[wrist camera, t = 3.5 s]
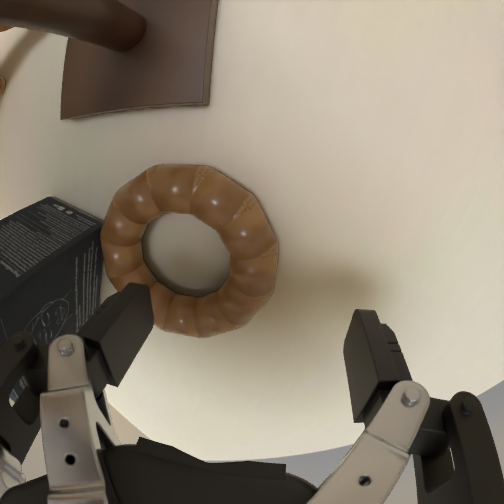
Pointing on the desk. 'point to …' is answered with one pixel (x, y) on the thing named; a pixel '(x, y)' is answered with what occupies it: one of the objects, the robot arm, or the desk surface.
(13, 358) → the robot arm
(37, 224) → the box
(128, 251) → the ridged brown doughnut
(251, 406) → the desk surface
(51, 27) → the stand
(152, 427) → the desk surface
